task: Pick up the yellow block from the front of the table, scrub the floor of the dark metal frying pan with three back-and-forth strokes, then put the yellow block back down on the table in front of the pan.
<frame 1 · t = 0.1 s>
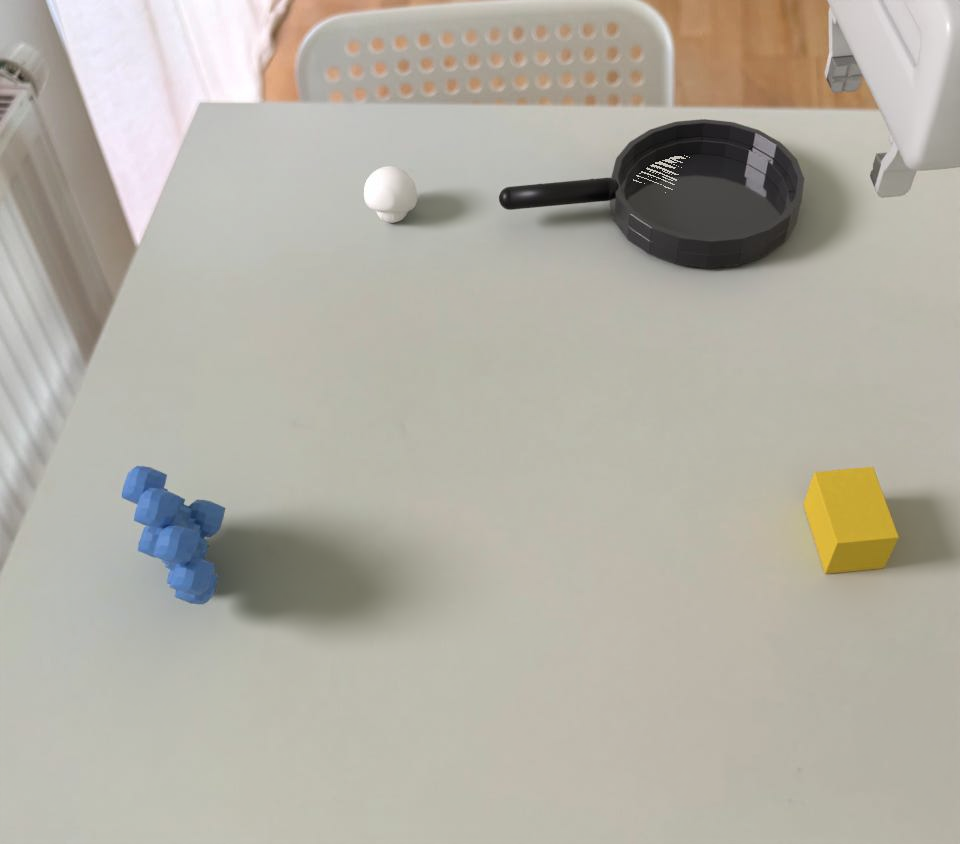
hand: (863, 134, 62), 29 cm above the table, tool pointing down, fingers open, 8 cm apart
pan: (702, 208, 103), on the table
pan handle: (558, 193, 101), point 3 cm above the table
grapes: (204, 576, 83), on the table
yellow block: (842, 535, 82), on the table
mushroom: (393, 218, 105), on the table
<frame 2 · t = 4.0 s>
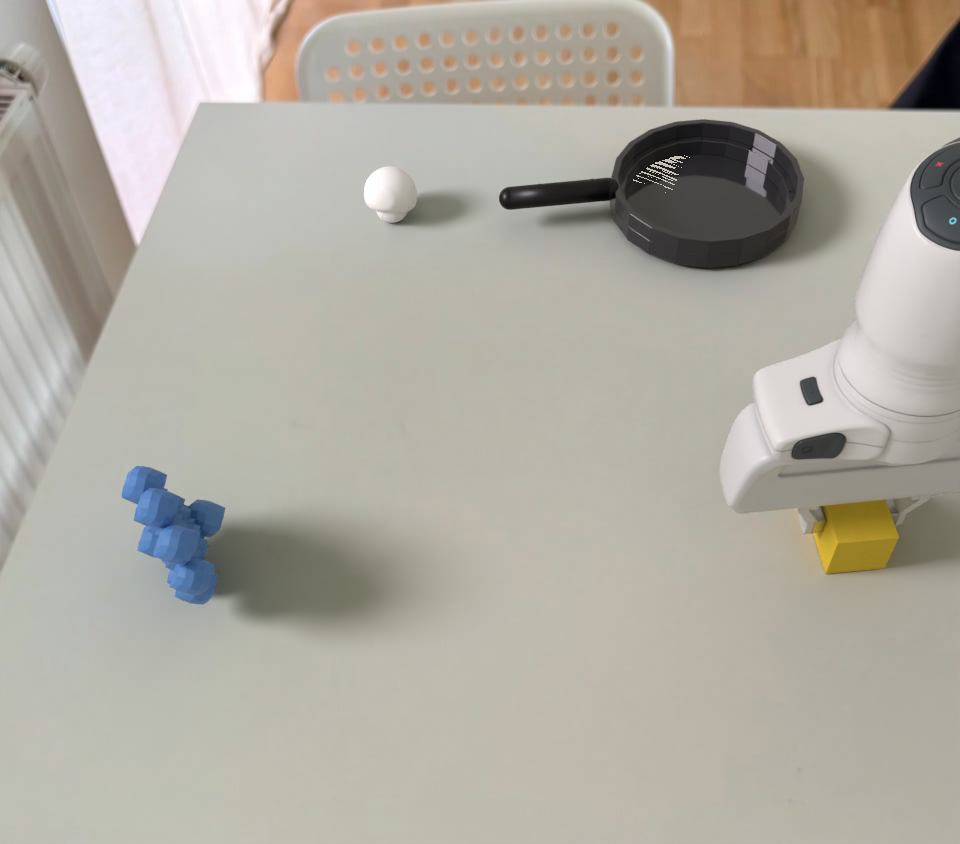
hand: (848, 522, 81), 2 cm above the table, tool pointing down, fingers closed on yellow block, 4 cm apart
yellow block: (843, 535, 82), on the table, touching gripper
everything else where it was.
when the fingers open (1 cm above the table, at t = 20.3 s): yellow block stays where it is, on the table.
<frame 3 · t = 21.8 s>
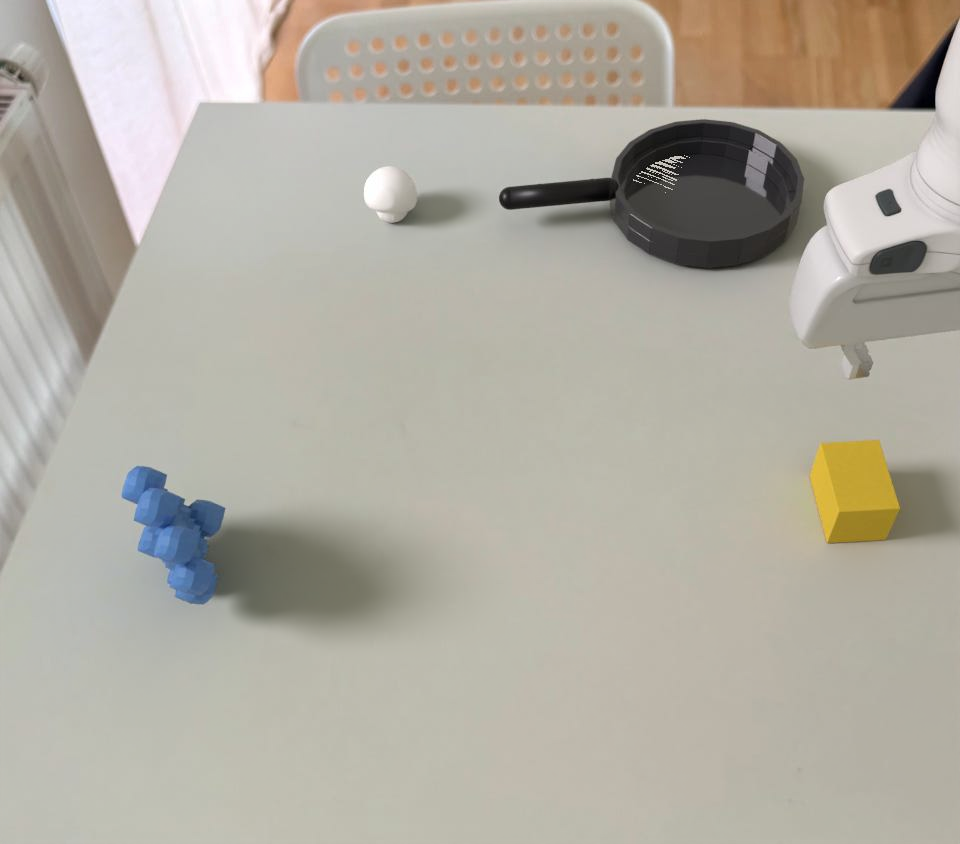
hand: (919, 364, 79), 9 cm above the table, tool pointing down, fingers open, 8 cm apart
yellow block: (846, 507, 84), on the table
everything else where it was.
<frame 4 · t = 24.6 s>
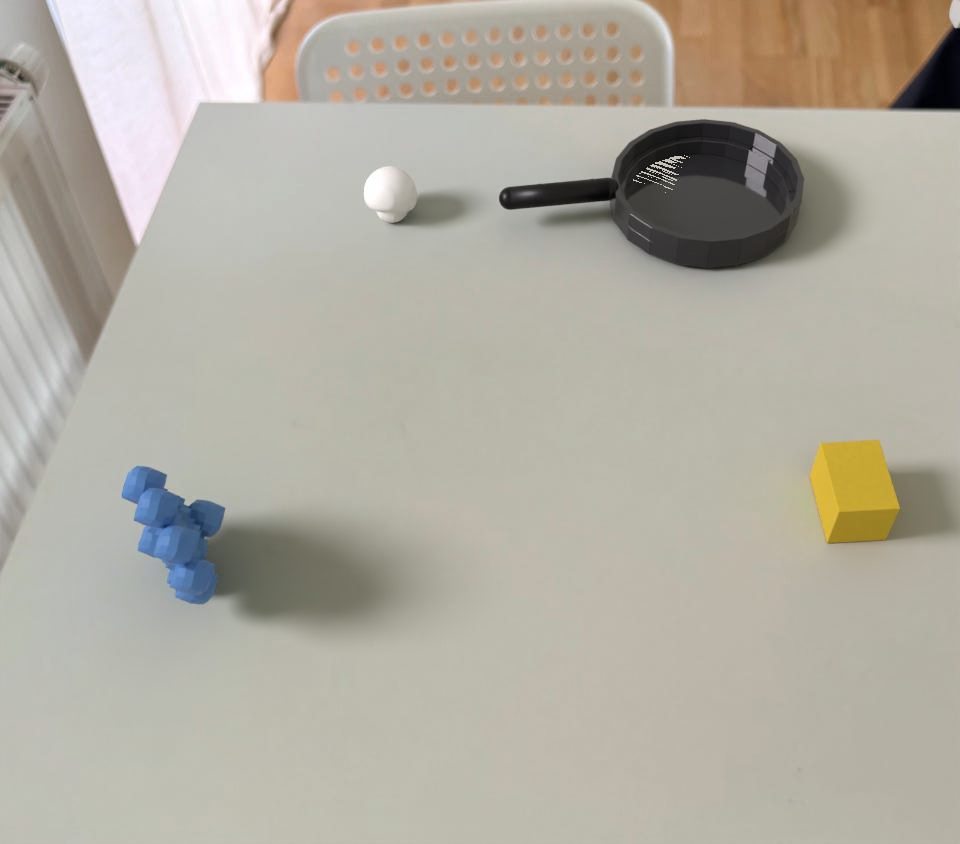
nothing on the table moved.
at the end: yellow block tilted 0°; the gripper is holding nothing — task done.
